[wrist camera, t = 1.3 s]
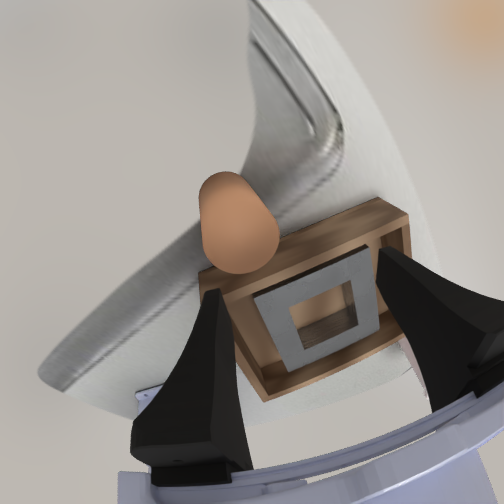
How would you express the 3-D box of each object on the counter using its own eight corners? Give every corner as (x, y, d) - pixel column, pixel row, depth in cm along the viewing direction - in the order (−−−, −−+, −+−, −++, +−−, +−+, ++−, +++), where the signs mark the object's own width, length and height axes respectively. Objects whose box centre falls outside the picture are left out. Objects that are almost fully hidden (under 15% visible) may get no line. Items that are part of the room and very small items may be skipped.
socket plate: (280, 352, 30) (288, 372, 27) (246, 278, 25) (253, 298, 23) (366, 313, 30) (379, 329, 28) (353, 233, 25) (369, 247, 23)
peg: (211, 230, 23) (221, 284, 16) (190, 184, 22) (189, 221, 15) (258, 210, 23) (288, 256, 16) (240, 163, 22) (265, 189, 15)
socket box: (254, 371, 32) (263, 402, 28) (198, 272, 25) (200, 304, 21) (391, 308, 32) (412, 332, 28) (378, 197, 25) (408, 214, 21)
